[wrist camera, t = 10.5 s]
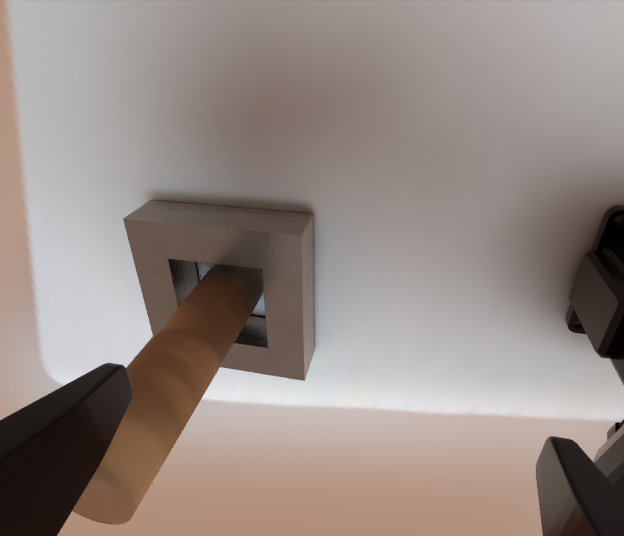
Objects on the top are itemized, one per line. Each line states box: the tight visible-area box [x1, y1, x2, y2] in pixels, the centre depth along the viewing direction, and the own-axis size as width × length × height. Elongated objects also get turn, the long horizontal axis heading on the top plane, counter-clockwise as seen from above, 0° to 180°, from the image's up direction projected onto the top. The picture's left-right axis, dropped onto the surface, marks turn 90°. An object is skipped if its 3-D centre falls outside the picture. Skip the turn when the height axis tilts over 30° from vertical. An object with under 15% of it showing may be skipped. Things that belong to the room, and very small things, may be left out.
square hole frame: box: [123, 200, 314, 381], centre depth 23 cm, size 9×9×2 cm
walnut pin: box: [72, 264, 264, 524], centre depth 19 cm, size 3×3×13 cm
